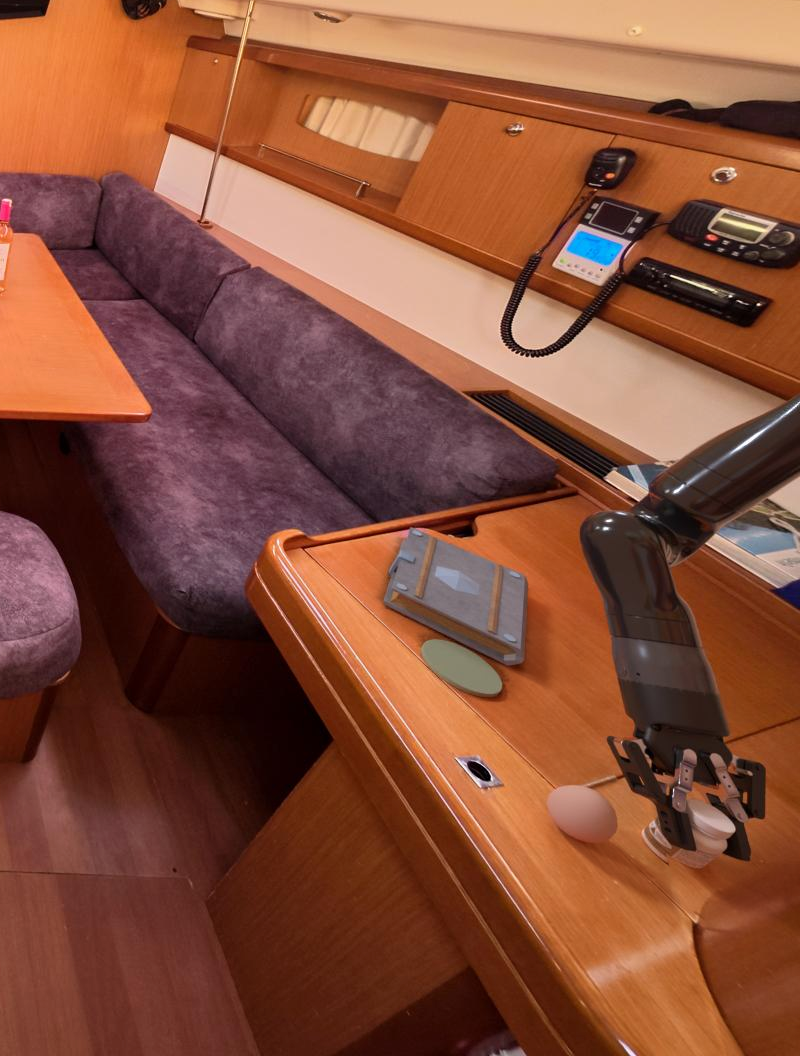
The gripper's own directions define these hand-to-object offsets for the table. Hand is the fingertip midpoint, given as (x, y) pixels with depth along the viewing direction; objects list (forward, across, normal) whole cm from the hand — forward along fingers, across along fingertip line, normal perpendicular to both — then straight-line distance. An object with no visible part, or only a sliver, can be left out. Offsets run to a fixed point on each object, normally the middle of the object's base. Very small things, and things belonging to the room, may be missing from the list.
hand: (708, 852), depth 69 cm
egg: (+1, -10, +5) cm, 11 cm away
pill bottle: (+2, 0, +4) cm, 5 cm away
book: (-24, 0, +30) cm, 39 cm away
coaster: (-14, -8, +20) cm, 26 cm away
